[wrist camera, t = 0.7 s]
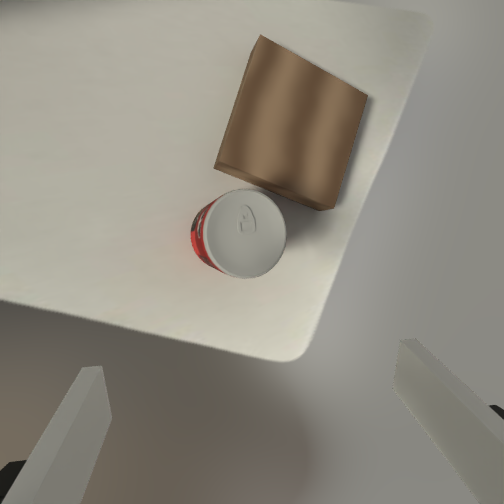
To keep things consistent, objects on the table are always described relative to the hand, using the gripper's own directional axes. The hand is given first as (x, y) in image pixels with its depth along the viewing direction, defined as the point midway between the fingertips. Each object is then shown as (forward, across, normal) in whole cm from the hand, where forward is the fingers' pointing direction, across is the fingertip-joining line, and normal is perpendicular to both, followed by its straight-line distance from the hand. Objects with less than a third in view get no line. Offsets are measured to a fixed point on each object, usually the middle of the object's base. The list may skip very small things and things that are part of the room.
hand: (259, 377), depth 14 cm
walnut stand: (+30, +8, +11) cm, 33 cm away
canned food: (+26, -1, 0) cm, 26 cm away
